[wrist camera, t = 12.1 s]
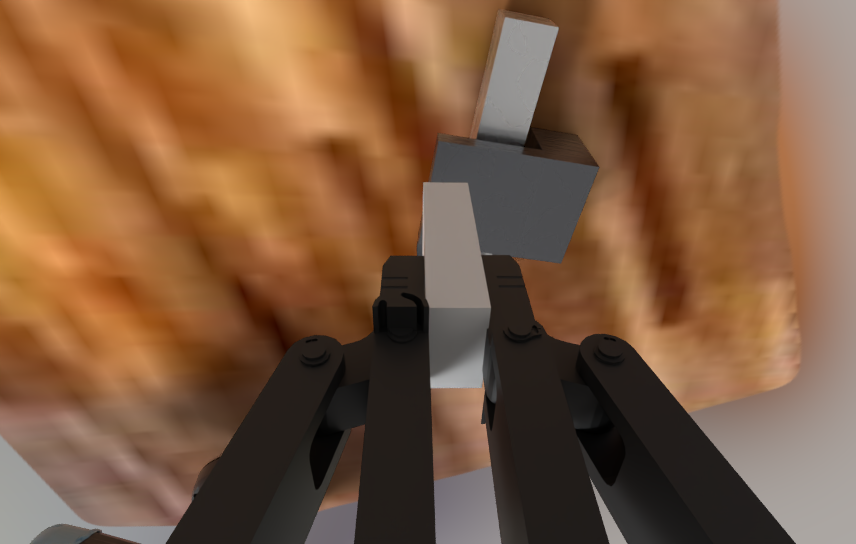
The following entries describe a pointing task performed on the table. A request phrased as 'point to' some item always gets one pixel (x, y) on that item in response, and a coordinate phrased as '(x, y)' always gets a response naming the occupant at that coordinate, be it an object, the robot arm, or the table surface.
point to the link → (513, 77)
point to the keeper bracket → (519, 190)
